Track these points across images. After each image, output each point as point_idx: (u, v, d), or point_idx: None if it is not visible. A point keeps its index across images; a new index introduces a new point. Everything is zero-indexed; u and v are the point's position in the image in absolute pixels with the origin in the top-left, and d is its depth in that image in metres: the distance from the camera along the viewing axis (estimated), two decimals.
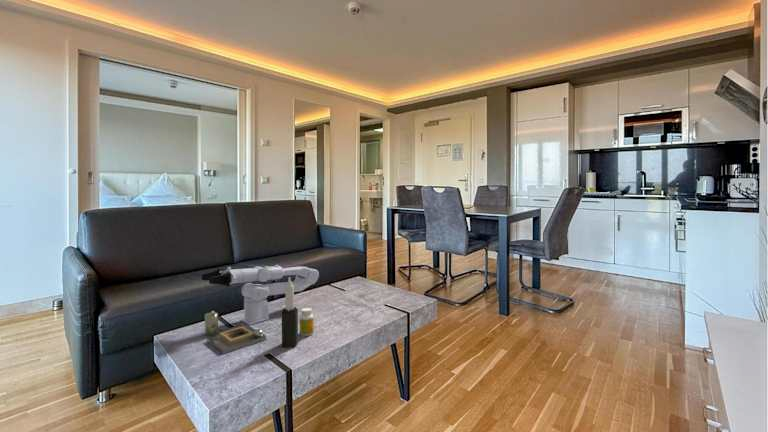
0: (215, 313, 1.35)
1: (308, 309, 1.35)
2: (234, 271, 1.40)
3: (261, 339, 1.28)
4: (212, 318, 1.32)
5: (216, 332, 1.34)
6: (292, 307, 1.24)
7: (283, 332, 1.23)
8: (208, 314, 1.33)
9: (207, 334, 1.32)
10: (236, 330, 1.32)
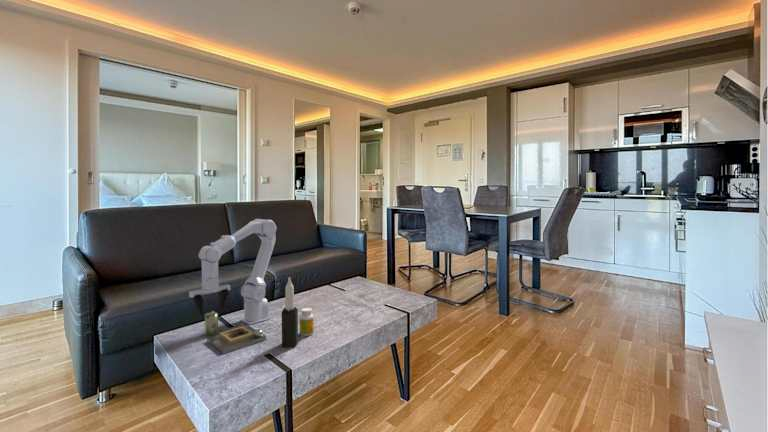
0: (215, 313, 1.35)
1: (308, 309, 1.35)
2: (217, 285, 1.33)
3: (261, 339, 1.28)
4: (212, 318, 1.32)
5: (216, 332, 1.34)
6: (292, 307, 1.24)
7: (283, 332, 1.23)
8: (208, 314, 1.33)
9: (207, 334, 1.32)
10: (236, 330, 1.32)
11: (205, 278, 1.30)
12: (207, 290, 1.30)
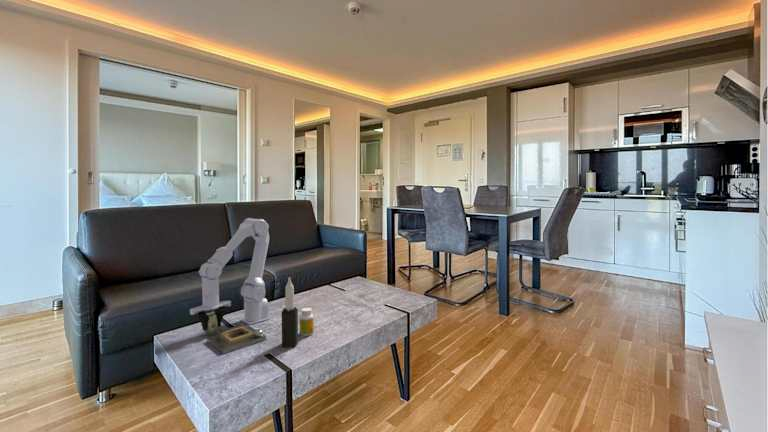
0: (215, 313, 1.35)
1: (308, 309, 1.35)
2: (217, 302, 1.33)
3: (261, 339, 1.28)
4: (212, 318, 1.32)
5: (216, 332, 1.34)
6: (292, 307, 1.24)
7: (283, 332, 1.23)
8: (208, 314, 1.33)
9: (207, 334, 1.32)
10: (236, 330, 1.32)
11: (205, 295, 1.30)
12: (207, 307, 1.31)
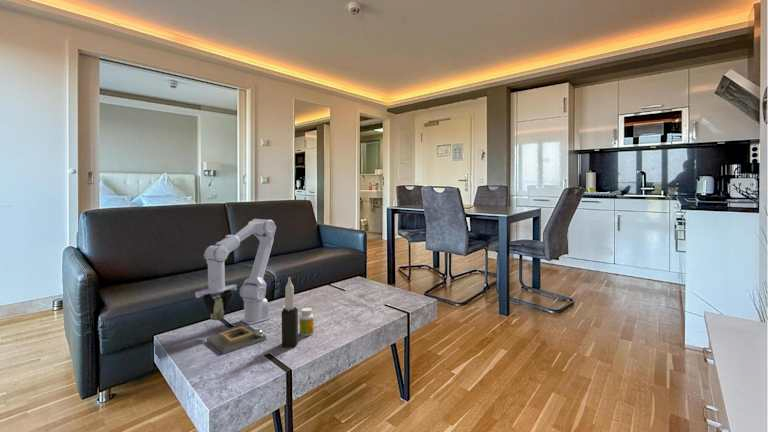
0: (221, 297, 1.33)
1: (308, 309, 1.35)
2: (223, 285, 1.31)
3: (261, 339, 1.28)
4: (217, 301, 1.30)
5: (222, 316, 1.32)
6: (292, 307, 1.24)
7: (283, 332, 1.23)
8: (214, 298, 1.31)
9: (213, 318, 1.30)
10: (236, 330, 1.32)
11: (211, 278, 1.29)
12: (213, 290, 1.29)
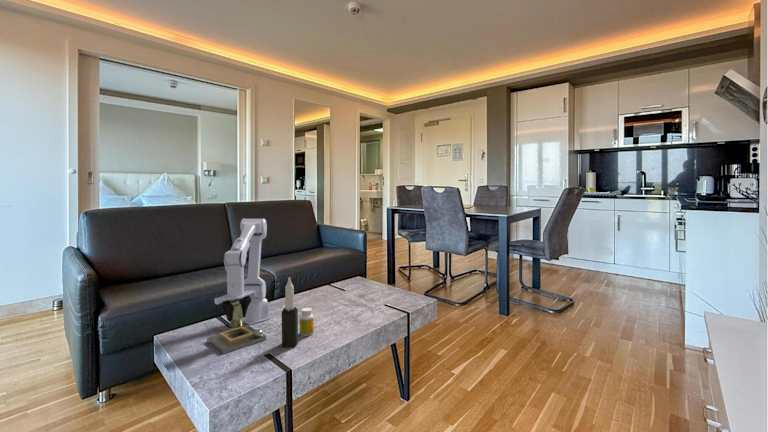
0: (240, 303, 1.28)
1: (308, 309, 1.35)
2: (242, 291, 1.27)
3: (261, 339, 1.28)
4: (237, 308, 1.26)
5: (241, 323, 1.27)
6: (292, 307, 1.24)
7: (283, 332, 1.23)
8: (233, 304, 1.27)
9: (232, 325, 1.26)
10: (236, 330, 1.32)
11: (231, 284, 1.24)
12: (233, 296, 1.24)
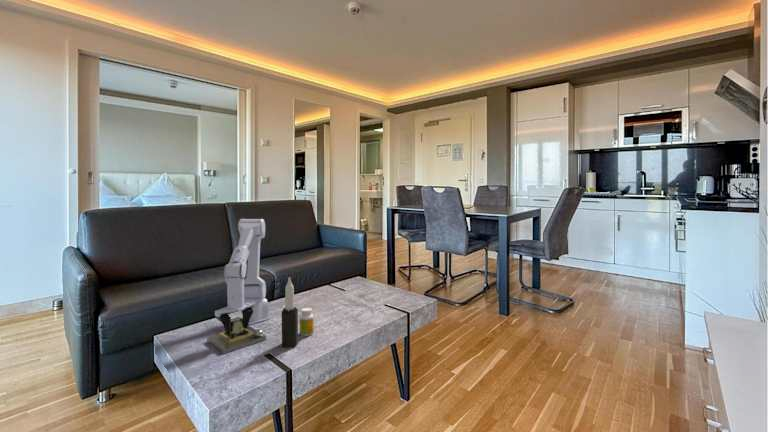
0: (240, 319, 1.29)
1: (308, 309, 1.35)
2: (243, 303, 1.27)
3: (261, 339, 1.28)
4: (237, 324, 1.26)
5: None
6: (292, 307, 1.24)
7: (283, 332, 1.23)
8: (233, 320, 1.27)
9: None
10: None
11: (231, 296, 1.25)
12: (233, 309, 1.25)
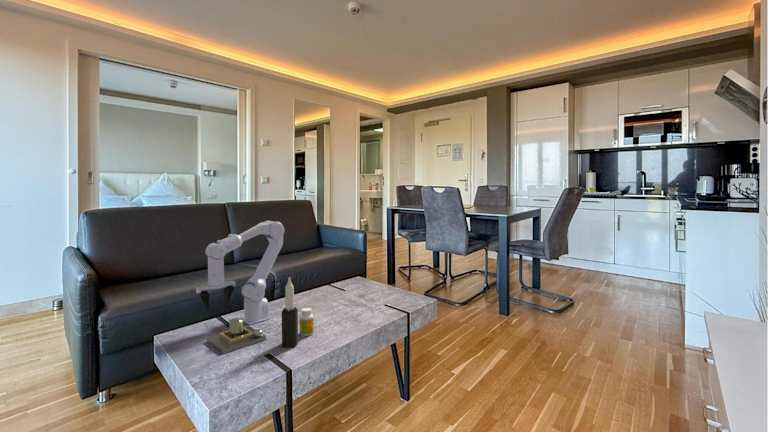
0: (240, 319, 1.29)
1: (308, 309, 1.35)
2: (222, 281, 1.37)
3: (261, 339, 1.28)
4: (237, 324, 1.26)
5: None
6: (292, 307, 1.24)
7: (283, 332, 1.23)
8: (233, 320, 1.27)
9: None
10: None
11: (211, 274, 1.34)
12: (213, 286, 1.34)
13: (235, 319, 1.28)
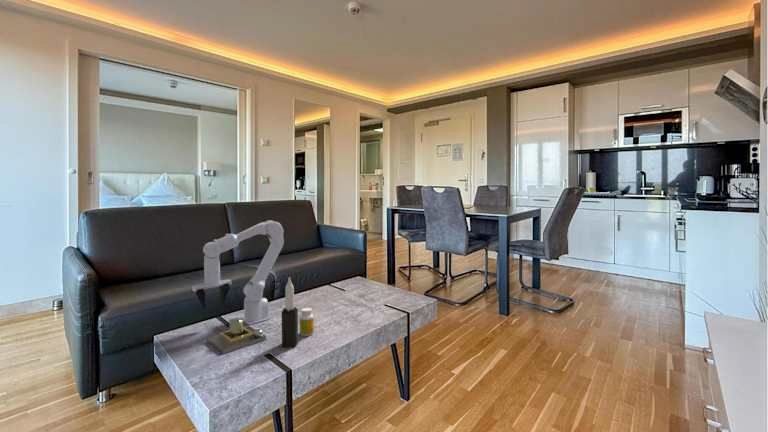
0: (240, 319, 1.29)
1: (308, 309, 1.35)
2: (218, 280, 1.39)
3: (261, 339, 1.28)
4: (237, 324, 1.26)
5: None
6: (292, 307, 1.24)
7: (283, 332, 1.23)
8: (233, 320, 1.27)
9: None
10: None
11: (207, 273, 1.36)
12: (209, 284, 1.36)
13: (235, 319, 1.28)
